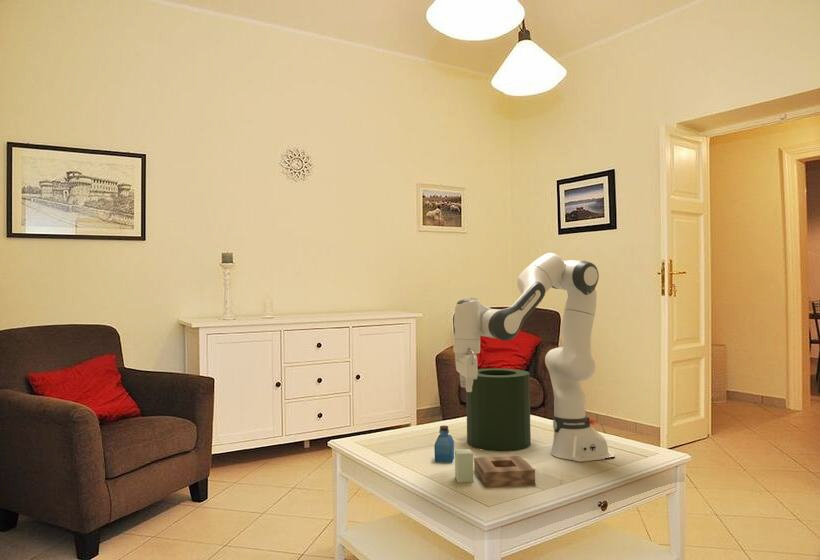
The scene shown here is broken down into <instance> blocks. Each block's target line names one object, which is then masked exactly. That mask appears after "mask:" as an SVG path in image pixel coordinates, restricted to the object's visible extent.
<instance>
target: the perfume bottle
mask: <svg viewBox="0 0 820 560" xmlns="http://www.w3.org/2000/svg"><path fill="white" fill-rule="evenodd" d="M438 432H439V435H438V436H437V438H436V441H435V442H434V463H442V464H443V463H445V464H447V463H448V464H452V463H453V461H454V460H455V441H454V438H453V437H452V435H451V434H449V433H450V430H449V426H448V425H440V426H439V431H438Z"/></svg>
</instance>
